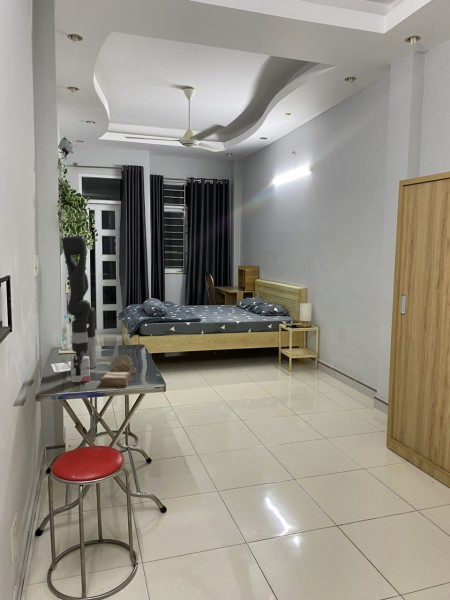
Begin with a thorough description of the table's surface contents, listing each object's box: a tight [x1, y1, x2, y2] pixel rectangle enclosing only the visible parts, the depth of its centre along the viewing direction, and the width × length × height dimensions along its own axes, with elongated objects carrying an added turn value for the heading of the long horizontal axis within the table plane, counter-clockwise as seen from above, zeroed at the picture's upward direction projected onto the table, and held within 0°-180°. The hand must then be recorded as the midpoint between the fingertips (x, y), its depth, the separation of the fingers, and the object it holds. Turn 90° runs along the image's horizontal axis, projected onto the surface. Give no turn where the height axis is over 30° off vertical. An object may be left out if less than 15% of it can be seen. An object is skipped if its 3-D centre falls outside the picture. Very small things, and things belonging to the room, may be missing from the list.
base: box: [99, 371, 132, 387], centre depth 225 cm, size 12×12×4 cm
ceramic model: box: [108, 354, 137, 376], centre depth 243 cm, size 14×11×10 cm
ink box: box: [70, 356, 91, 383], centre depth 228 cm, size 9×5×12 cm, turn 102°
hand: (80, 373), depth 228 cm, fingers open, 8 cm apart
